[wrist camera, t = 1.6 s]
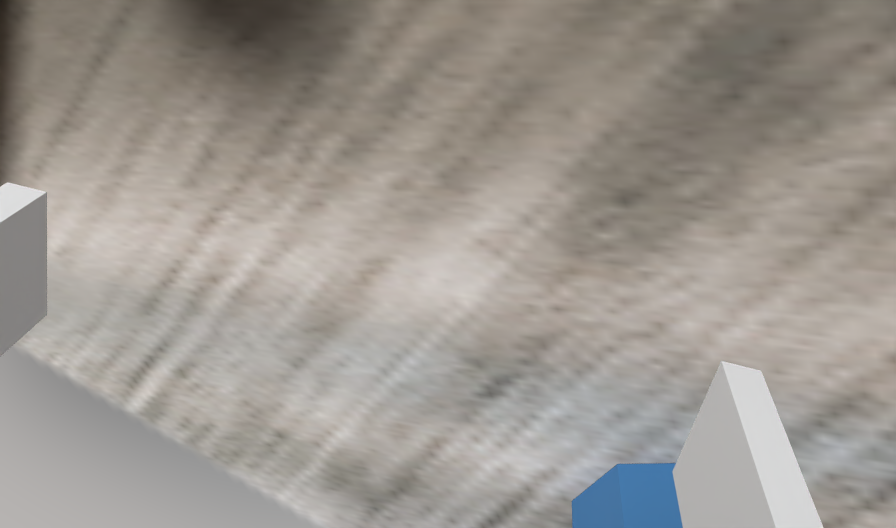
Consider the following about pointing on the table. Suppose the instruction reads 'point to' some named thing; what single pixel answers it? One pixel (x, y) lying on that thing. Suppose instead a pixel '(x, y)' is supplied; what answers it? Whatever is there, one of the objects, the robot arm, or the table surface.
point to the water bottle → (630, 499)
